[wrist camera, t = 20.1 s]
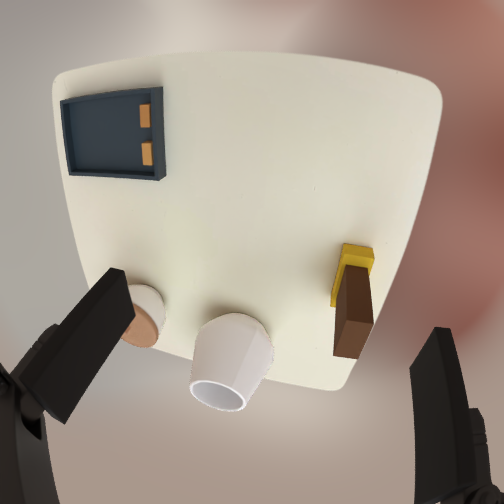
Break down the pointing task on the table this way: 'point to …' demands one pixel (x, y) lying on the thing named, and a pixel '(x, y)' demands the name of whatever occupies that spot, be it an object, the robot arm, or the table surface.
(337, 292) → the brush
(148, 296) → the trinket box
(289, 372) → the table surface
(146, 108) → the crumb
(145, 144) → the crumb
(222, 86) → the table surface
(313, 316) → the table surface
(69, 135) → the tray
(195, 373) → the white vase
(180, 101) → the table surface
